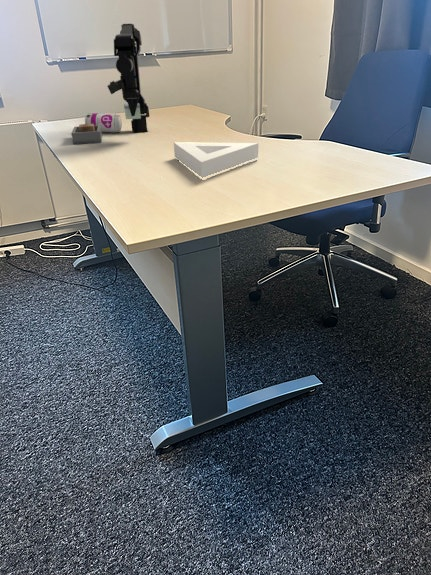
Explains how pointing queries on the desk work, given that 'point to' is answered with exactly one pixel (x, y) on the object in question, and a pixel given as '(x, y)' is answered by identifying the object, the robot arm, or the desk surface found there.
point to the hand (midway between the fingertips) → (132, 114)
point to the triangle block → (214, 155)
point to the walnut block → (86, 127)
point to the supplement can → (105, 121)
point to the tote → (87, 136)
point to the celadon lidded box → (128, 113)
